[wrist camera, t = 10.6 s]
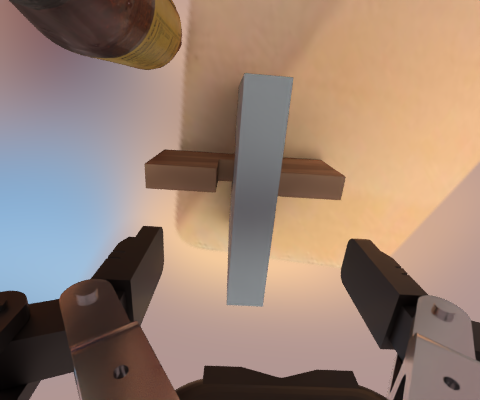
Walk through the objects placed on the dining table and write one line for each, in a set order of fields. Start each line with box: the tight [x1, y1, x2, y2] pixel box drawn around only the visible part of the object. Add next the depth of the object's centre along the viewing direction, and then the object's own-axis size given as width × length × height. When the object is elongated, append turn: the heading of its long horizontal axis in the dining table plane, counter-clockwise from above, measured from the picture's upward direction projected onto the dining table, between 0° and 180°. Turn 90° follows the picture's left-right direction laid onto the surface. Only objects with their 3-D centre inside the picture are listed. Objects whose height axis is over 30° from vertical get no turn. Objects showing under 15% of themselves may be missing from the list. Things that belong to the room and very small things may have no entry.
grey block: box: [227, 73, 293, 306], centre depth 22 cm, size 14×2×13 cm, turn 175°
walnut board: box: [145, 150, 345, 200], centre depth 25 cm, size 2×16×6 cm, turn 86°
